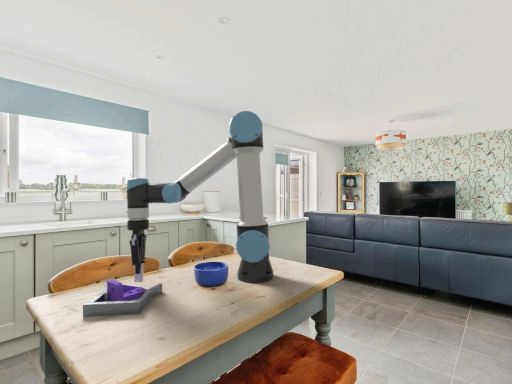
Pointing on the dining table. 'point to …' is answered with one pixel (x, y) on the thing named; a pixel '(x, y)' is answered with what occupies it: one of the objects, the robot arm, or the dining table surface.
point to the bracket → (123, 291)
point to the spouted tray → (119, 304)
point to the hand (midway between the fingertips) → (139, 281)
